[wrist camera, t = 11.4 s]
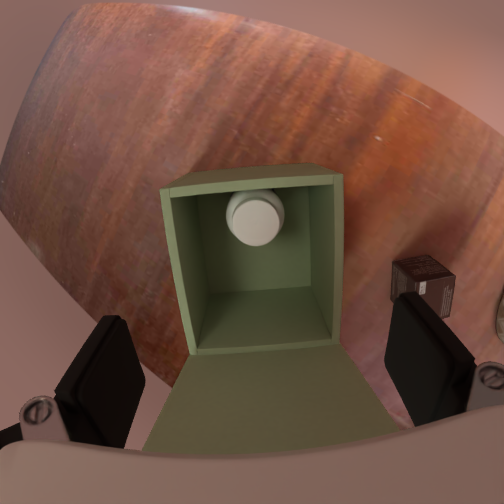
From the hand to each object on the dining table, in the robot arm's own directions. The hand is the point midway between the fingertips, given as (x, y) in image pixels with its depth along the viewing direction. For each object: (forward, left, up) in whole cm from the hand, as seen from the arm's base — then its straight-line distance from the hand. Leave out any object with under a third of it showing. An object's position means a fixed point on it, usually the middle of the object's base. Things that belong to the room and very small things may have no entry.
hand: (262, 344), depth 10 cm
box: (+20, +13, -28) cm, 36 cm away
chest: (+4, -2, -27) cm, 28 cm away
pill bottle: (0, 0, -27) cm, 27 cm away
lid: (+8, -4, -7) cm, 12 cm away
